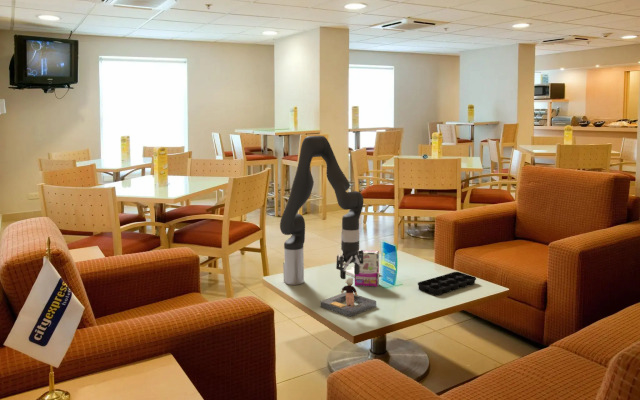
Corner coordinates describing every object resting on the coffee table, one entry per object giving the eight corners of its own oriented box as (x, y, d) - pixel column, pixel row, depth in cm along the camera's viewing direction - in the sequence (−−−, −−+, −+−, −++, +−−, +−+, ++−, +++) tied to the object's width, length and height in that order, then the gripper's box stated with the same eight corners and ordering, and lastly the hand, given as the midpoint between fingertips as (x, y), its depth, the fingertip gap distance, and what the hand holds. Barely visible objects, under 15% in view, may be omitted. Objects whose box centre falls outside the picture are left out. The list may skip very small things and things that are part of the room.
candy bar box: (379, 284, 260) (379, 250, 258) (377, 287, 256) (378, 253, 253) (356, 282, 263) (356, 249, 260) (354, 285, 258) (354, 252, 256)
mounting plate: (342, 273, 280) (342, 269, 279) (362, 268, 286) (362, 265, 286) (363, 282, 265) (363, 278, 264) (384, 277, 271) (384, 273, 271)
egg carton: (479, 283, 261) (479, 275, 260) (448, 300, 239) (448, 292, 238) (445, 276, 273) (446, 269, 272) (413, 291, 250) (413, 283, 250)
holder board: (320, 306, 232) (320, 300, 231) (346, 297, 243) (346, 291, 243) (350, 317, 220) (350, 310, 219) (376, 306, 231) (376, 300, 231)
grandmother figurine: (359, 305, 233) (359, 276, 230) (356, 308, 229) (357, 279, 227) (342, 303, 235) (342, 275, 233) (339, 306, 232) (339, 277, 230)
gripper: (355, 234, 235) (354, 270, 238) (332, 240, 225) (331, 278, 228) (368, 237, 229) (367, 274, 232) (345, 244, 220) (345, 282, 223)
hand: (349, 276), depth 230 cm, fingers open, 8 cm apart
